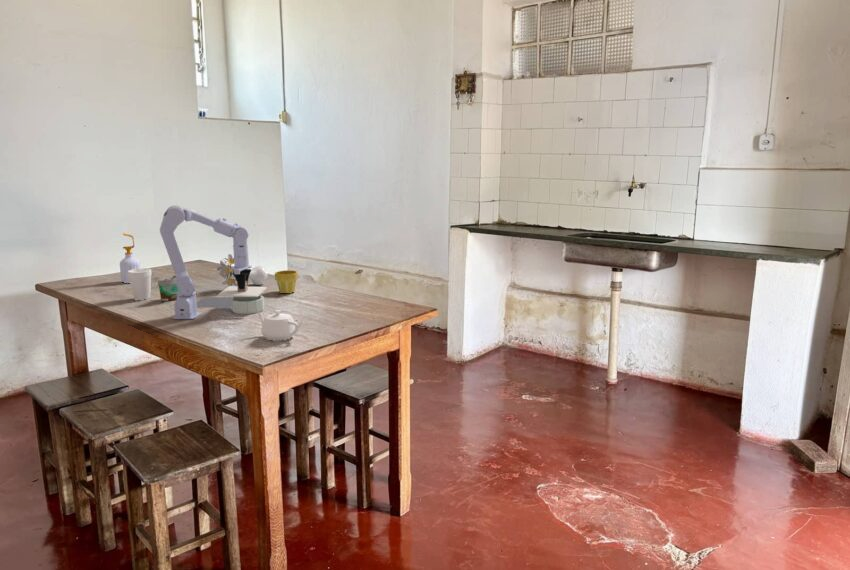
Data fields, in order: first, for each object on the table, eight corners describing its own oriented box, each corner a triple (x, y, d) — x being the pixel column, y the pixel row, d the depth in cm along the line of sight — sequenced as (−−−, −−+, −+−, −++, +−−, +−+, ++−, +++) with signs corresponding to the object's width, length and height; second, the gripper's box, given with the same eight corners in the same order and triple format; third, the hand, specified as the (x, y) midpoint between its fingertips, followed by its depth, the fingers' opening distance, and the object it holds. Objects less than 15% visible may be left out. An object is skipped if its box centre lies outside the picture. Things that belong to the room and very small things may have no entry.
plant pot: (274, 290, 293) (273, 270, 291) (296, 289, 296) (295, 269, 294) (276, 295, 284) (275, 275, 281) (299, 294, 287) (298, 273, 284)
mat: (231, 308, 262) (231, 307, 262) (189, 308, 262) (189, 307, 262) (244, 298, 279) (243, 297, 279) (204, 298, 279) (204, 297, 279)
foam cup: (126, 299, 275) (123, 271, 272) (144, 295, 283) (141, 267, 280) (140, 302, 271) (137, 273, 268) (158, 297, 279) (155, 269, 276)
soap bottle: (121, 281, 313) (116, 232, 308) (141, 279, 317) (136, 231, 312) (121, 284, 306) (116, 235, 300) (141, 282, 309) (136, 234, 304)
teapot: (245, 337, 223) (244, 310, 220) (271, 328, 233) (269, 302, 231) (286, 346, 212) (284, 318, 210) (311, 337, 222) (310, 310, 220)
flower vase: (255, 296, 310) (212, 293, 290) (256, 260, 312) (213, 254, 292) (272, 295, 303) (229, 291, 282) (273, 258, 304) (231, 251, 284)
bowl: (259, 315, 251) (258, 302, 250) (227, 315, 251) (226, 301, 250) (267, 306, 264) (266, 294, 263) (237, 306, 264) (236, 294, 263)
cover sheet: (257, 297, 250) (256, 286, 249) (217, 296, 250) (216, 285, 249) (266, 288, 265) (266, 277, 264) (229, 287, 265) (228, 276, 264)
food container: (172, 303, 269) (170, 281, 267) (159, 303, 270) (157, 280, 268) (188, 297, 281) (186, 275, 278) (175, 296, 282) (174, 275, 280)
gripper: (245, 258, 247) (248, 291, 250) (255, 252, 261) (257, 284, 264) (228, 258, 247) (230, 291, 250) (238, 252, 261) (240, 284, 264)
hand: (243, 287), depth 257 cm, fingers closed on cover sheet, 3 cm apart
